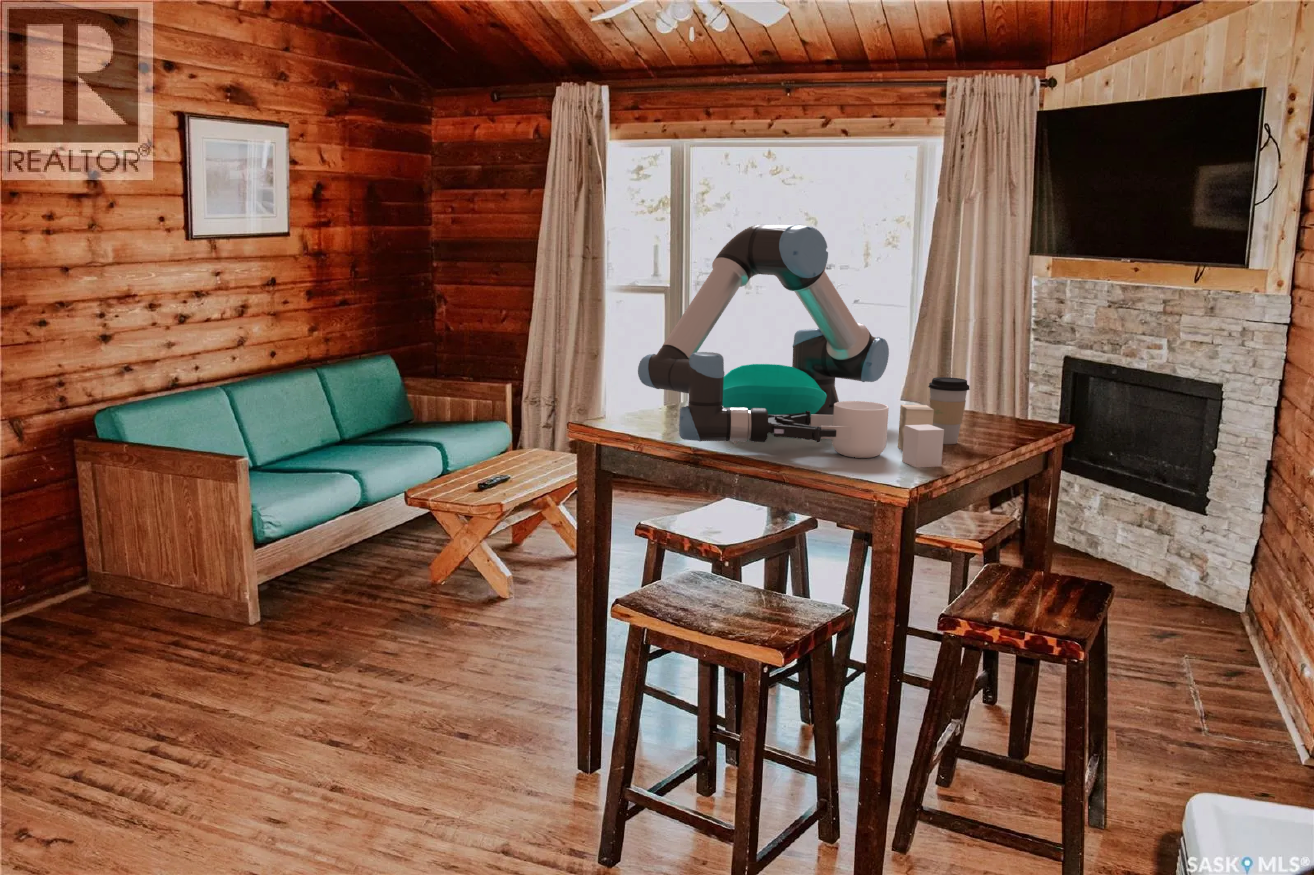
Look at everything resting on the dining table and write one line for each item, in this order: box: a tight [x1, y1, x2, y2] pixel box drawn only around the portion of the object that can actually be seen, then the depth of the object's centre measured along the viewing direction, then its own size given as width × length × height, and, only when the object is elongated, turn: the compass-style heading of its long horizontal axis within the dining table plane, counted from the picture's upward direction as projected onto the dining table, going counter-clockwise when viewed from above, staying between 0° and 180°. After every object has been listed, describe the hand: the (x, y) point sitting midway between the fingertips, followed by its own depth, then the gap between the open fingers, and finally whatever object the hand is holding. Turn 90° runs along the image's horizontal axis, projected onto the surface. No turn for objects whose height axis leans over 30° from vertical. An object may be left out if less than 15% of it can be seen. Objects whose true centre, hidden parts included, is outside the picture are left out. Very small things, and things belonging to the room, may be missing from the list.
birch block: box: [897, 404, 934, 452], centre depth 236 cm, size 6×6×10 cm
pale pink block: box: [901, 424, 944, 468], centre depth 222 cm, size 6×6×8 cm
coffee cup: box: [928, 376, 971, 445], centre depth 246 cm, size 9×9×15 cm
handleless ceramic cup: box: [831, 400, 890, 459], centre depth 230 cm, size 12×12×11 cm
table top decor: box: [723, 363, 827, 416], centre depth 261 cm, size 40×28×13 cm
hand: (845, 426), depth 229 cm, fingers open, 13 cm apart
